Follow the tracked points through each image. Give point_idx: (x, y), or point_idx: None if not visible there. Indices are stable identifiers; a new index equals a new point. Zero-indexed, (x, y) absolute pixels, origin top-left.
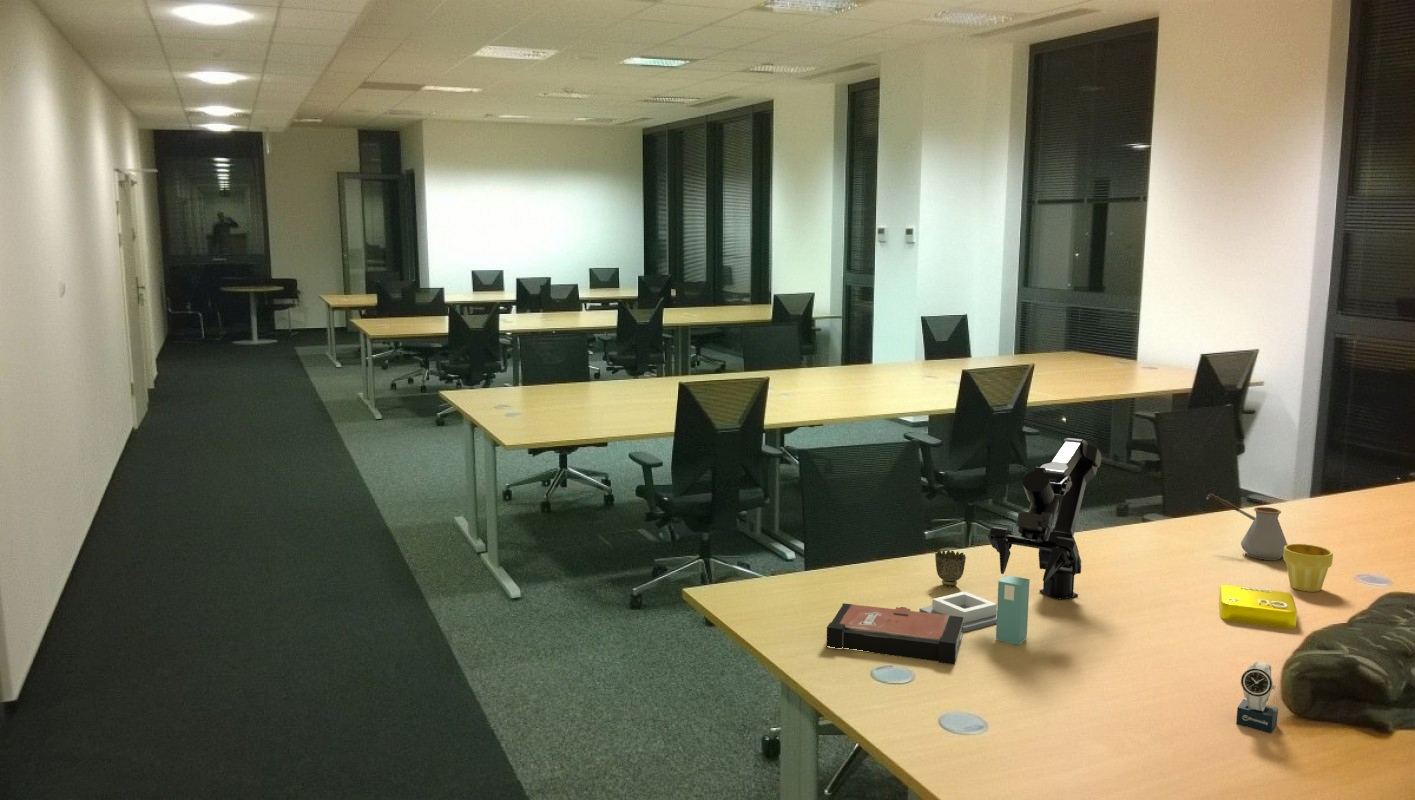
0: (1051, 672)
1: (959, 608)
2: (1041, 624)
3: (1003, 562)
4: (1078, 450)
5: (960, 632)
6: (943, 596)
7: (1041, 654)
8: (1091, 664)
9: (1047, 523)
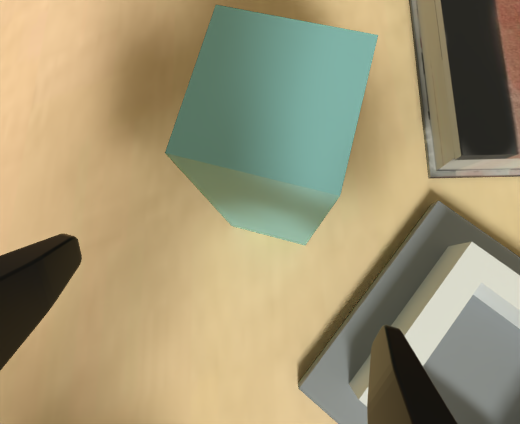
0: (166, 6)
1: (503, 279)
2: (185, 374)
3: (411, 397)
4: None
5: (440, 142)
6: None
7: None
8: (63, 88)
9: None
